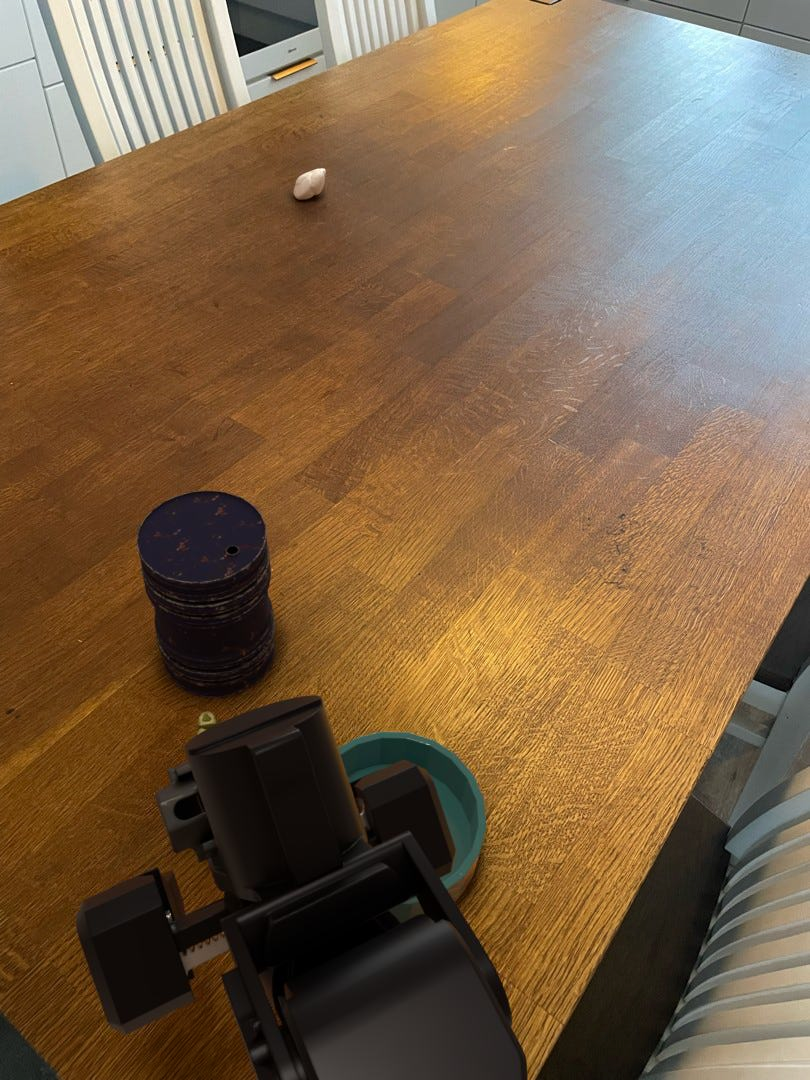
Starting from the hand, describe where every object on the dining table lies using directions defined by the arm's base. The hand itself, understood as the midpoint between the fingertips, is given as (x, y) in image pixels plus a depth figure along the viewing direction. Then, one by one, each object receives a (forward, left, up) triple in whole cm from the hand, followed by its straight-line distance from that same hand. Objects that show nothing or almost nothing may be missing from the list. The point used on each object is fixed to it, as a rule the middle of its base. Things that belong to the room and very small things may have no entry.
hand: (246, 845), depth 53 cm
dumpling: (+110, +3, -13) cm, 111 cm away
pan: (+6, -9, -13) cm, 17 cm away
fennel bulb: (+7, +4, -13) cm, 15 cm away
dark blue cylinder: (+23, +6, -13) cm, 27 cm away
